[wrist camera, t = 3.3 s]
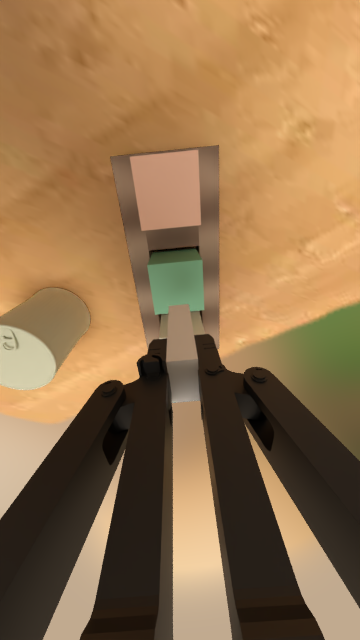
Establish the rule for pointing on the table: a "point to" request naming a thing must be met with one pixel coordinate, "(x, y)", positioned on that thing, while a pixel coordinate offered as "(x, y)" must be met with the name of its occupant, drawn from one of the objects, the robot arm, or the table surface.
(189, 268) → the green block
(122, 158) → the walnut board
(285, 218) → the table surface
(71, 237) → the table surface
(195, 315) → the cream block
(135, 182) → the terracotta block
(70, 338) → the can
